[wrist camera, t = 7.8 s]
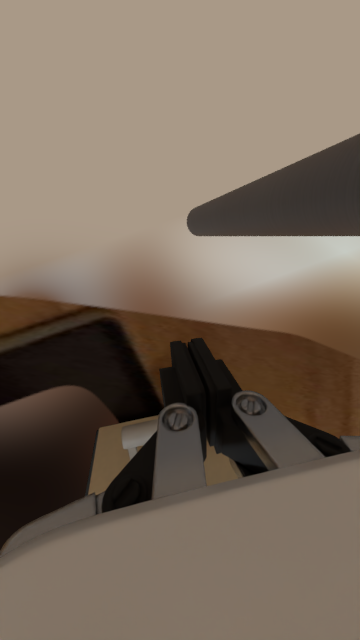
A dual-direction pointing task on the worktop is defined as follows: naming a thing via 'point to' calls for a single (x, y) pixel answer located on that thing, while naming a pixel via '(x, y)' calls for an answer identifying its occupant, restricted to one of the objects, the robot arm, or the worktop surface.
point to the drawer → (128, 439)
